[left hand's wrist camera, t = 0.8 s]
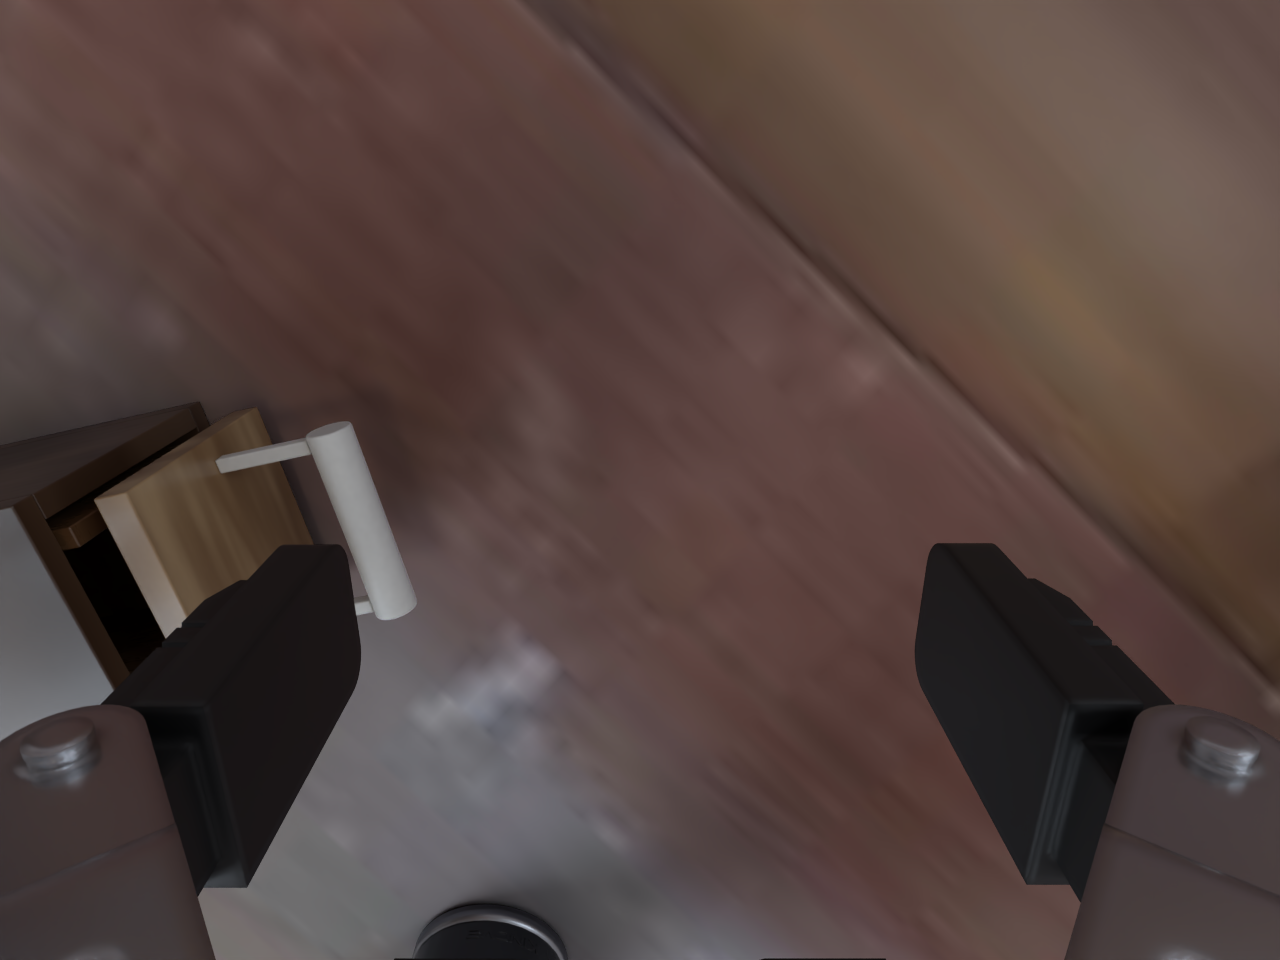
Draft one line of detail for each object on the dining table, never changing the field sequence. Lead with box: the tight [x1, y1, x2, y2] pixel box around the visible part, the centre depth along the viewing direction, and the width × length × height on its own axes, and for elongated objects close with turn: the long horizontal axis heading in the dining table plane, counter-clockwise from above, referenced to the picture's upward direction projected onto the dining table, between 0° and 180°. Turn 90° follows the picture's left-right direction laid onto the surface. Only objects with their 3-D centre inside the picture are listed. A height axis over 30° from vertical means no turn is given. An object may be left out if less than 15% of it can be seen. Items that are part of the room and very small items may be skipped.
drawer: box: [46, 407, 417, 674], centre depth 33 cm, size 21×10×10 cm, turn 102°
